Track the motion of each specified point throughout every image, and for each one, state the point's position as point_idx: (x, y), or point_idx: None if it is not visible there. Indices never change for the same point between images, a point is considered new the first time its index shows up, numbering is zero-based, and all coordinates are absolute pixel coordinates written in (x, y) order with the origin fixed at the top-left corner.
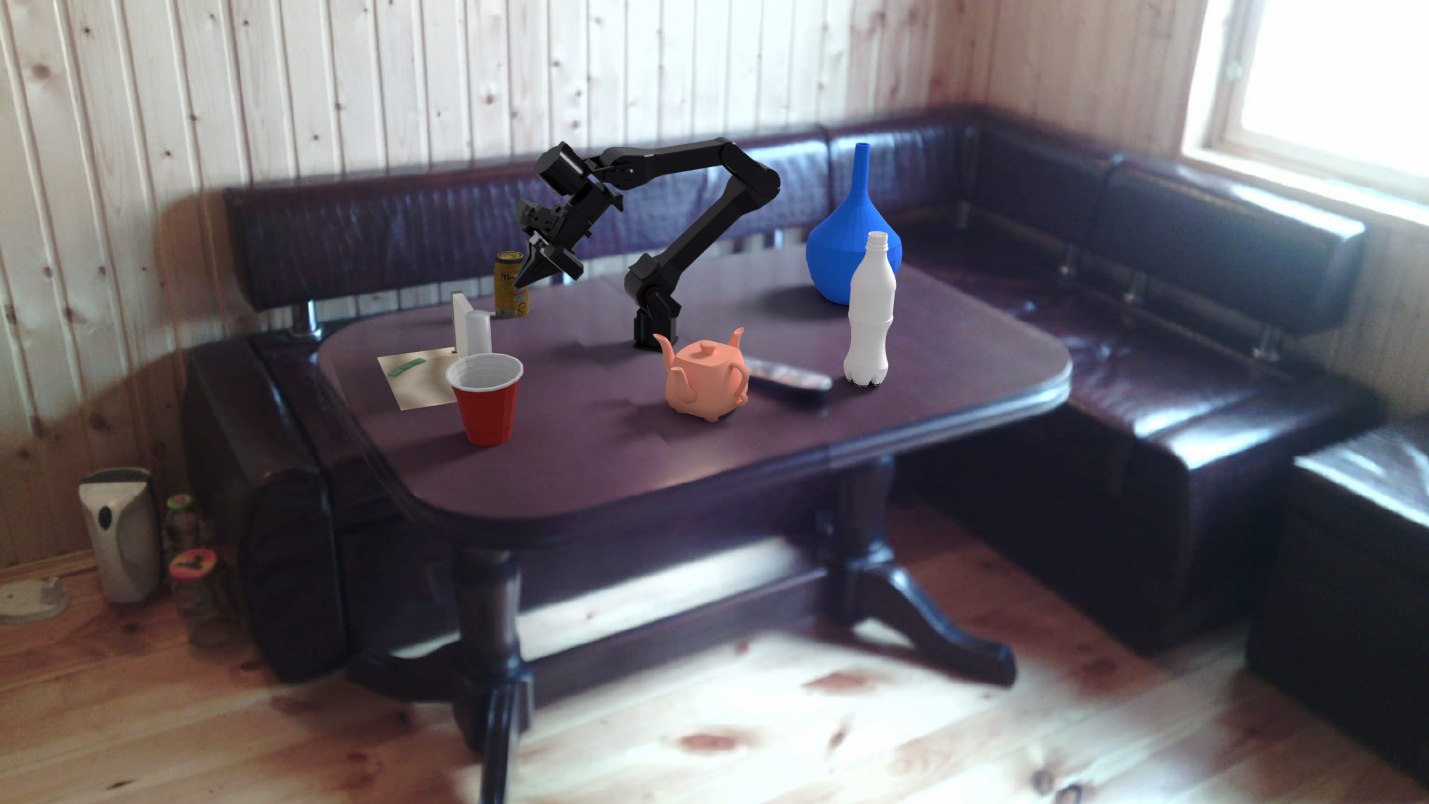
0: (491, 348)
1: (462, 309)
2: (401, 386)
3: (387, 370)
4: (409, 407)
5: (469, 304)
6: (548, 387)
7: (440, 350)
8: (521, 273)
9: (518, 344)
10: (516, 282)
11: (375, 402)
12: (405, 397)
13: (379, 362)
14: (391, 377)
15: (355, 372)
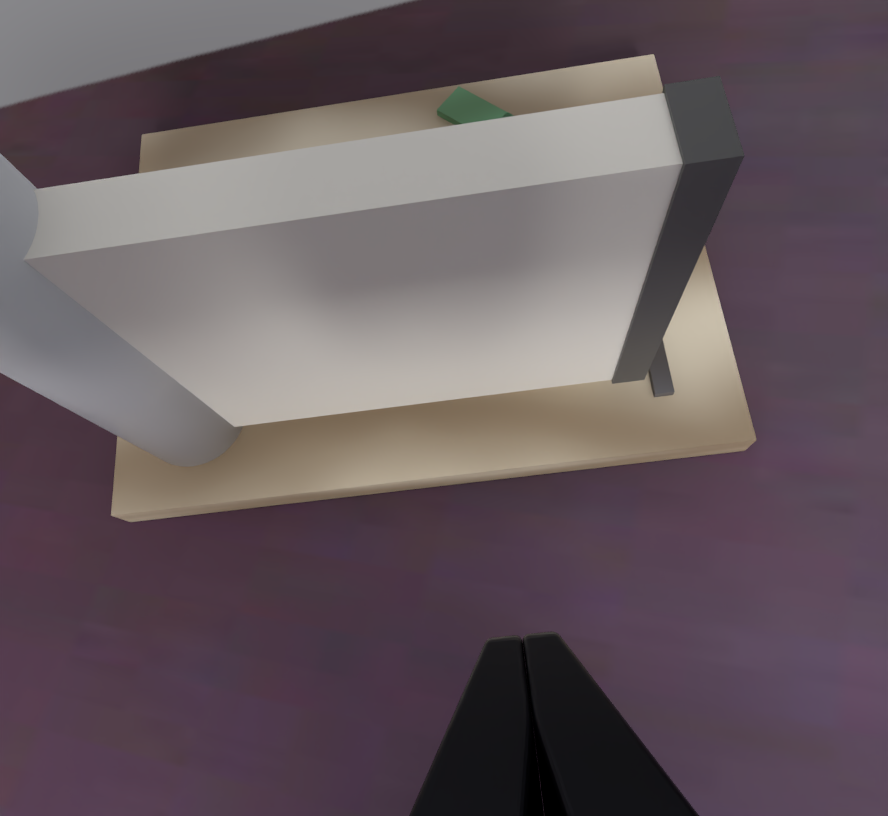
0: (47, 395)
1: (288, 152)
2: (342, 135)
3: (510, 90)
4: (154, 158)
5: (372, 202)
6: (195, 754)
7: (691, 282)
8: (485, 791)
9: (815, 707)
10: (475, 671)
11: (306, 82)
12: (240, 147)
13: (598, 63)
14: (436, 103)
15: (584, 18)
